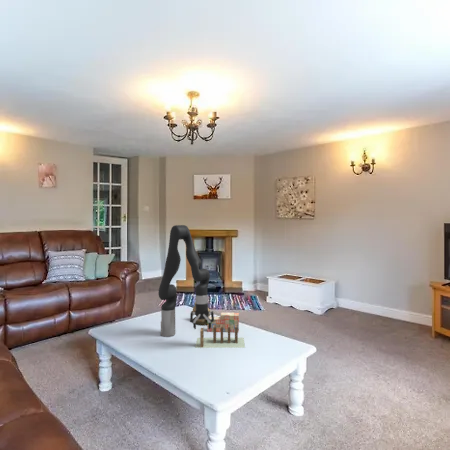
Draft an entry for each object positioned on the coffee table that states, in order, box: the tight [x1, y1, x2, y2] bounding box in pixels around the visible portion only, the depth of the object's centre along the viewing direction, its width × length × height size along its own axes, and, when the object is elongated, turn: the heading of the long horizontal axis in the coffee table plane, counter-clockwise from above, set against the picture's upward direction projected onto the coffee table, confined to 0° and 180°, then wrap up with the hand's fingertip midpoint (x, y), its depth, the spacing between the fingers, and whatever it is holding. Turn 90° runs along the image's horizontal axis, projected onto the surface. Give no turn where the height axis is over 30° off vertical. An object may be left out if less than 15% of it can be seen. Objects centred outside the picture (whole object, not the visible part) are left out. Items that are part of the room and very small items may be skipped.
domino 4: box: [227, 325, 231, 343], centre depth 203 cm, size 2×5×10 cm, turn 0°
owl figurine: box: [192, 301, 211, 327], centre depth 243 cm, size 18×12×17 cm, turn 51°
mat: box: [194, 337, 246, 349], centre depth 203 cm, size 30×16×1 cm, turn 90°
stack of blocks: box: [206, 312, 240, 334], centre depth 223 cm, size 21×6×12 cm, turn 84°
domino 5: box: [234, 325, 239, 343], centre depth 203 cm, size 2×5×10 cm, turn 0°
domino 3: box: [220, 325, 224, 343], centre depth 203 cm, size 2×5×10 cm, turn 0°
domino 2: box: [212, 325, 217, 343], centre depth 204 cm, size 2×5×10 cm, turn 0°
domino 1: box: [199, 327, 205, 347], centre depth 198 cm, size 2×5×10 cm, turn 0°
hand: (202, 328), depth 197 cm, fingers open, 8 cm apart
